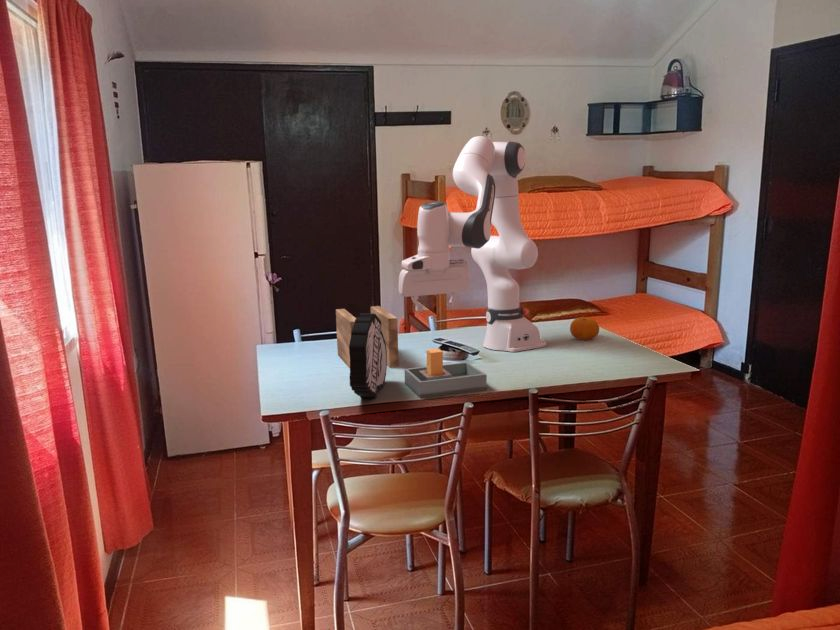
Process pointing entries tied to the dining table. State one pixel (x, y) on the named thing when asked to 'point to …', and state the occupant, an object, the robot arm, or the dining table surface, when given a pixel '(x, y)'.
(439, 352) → the orange rectangular block
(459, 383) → the bin
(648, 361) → the dining table surface
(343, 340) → the bookends
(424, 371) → the socket
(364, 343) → the wall sign
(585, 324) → the fruit
